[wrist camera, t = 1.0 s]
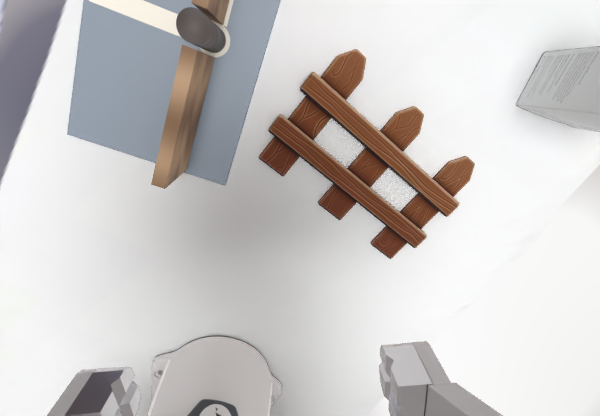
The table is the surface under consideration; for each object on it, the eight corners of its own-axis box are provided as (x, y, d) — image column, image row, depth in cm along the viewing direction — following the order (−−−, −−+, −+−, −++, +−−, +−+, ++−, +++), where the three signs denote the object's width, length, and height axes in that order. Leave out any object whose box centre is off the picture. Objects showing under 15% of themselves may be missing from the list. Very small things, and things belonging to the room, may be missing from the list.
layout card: (225, 184, 37) (224, 185, 37) (69, 133, 34) (66, 134, 34) (311, -106, 28) (312, -108, 28) (111, -206, 26) (108, -210, 25)
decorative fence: (393, 259, 43) (481, 172, 39) (398, 266, 41) (489, 176, 37) (251, 150, 37) (339, 35, 33) (250, 153, 35) (342, 32, 31)
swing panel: (186, 169, 36) (164, 188, 29) (175, 166, 36) (151, 184, 29) (214, 57, 32) (197, 50, 25) (202, 52, 32) (182, 44, 25)
